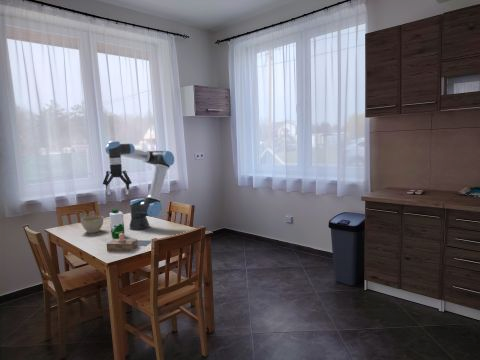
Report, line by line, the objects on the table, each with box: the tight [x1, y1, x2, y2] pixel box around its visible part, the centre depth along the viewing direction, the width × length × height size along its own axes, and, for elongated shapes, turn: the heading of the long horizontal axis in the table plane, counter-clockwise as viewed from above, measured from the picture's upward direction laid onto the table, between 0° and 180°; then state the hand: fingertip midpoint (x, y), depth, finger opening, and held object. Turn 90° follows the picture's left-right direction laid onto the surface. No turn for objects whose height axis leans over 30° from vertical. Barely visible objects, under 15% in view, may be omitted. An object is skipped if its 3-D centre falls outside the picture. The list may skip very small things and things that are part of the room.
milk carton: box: [109, 208, 125, 240], centre depth 242 cm, size 9×9×20 cm
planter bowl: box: [80, 215, 104, 234], centre depth 260 cm, size 16×16×11 cm
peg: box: [118, 232, 125, 243], centre depth 216 cm, size 3×3×10 cm
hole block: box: [106, 238, 139, 252], centre depth 216 cm, size 10×16×5 cm, turn 81°
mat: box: [137, 239, 152, 247], centre depth 226 cm, size 12×12×1 cm
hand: (118, 194), depth 232 cm, fingers open, 13 cm apart
